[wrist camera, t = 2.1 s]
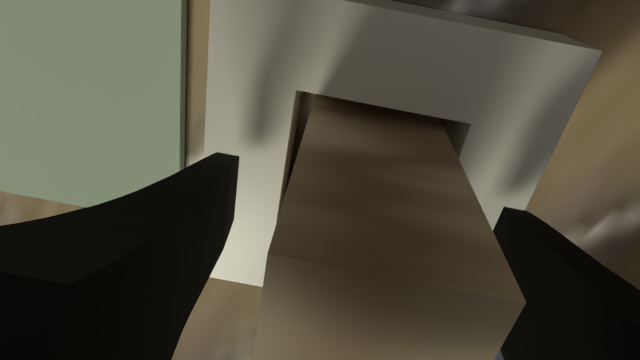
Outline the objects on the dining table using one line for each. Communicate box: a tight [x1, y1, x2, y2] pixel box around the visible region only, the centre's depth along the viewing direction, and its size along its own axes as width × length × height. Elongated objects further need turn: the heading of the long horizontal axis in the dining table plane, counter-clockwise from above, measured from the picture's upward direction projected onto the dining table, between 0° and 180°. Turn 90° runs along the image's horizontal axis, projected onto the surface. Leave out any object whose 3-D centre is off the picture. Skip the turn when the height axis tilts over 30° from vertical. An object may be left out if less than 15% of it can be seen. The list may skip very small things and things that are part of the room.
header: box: [204, 0, 602, 287], centre depth 14 cm, size 10×10×2 cm
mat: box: [0, 0, 187, 207], centre depth 15 cm, size 8×9×1 cm
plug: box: [252, 94, 526, 360], centre depth 11 cm, size 4×4×9 cm
